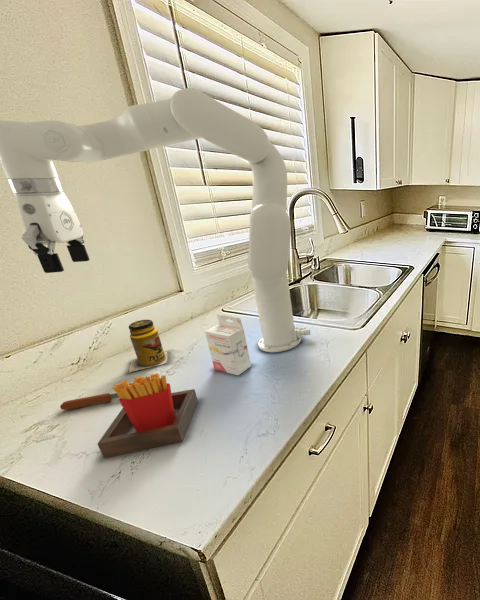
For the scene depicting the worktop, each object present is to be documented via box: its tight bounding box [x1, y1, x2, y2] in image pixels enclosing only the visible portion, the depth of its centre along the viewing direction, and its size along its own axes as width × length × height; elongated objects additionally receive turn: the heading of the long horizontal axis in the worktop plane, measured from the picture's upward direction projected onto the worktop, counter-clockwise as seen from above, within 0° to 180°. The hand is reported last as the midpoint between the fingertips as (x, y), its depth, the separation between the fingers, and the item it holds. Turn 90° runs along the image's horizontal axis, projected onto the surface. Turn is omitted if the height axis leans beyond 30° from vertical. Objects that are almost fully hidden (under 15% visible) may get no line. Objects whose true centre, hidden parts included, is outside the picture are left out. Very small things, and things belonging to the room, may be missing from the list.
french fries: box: [112, 373, 177, 432], centre depth 66 cm, size 8×4×12 cm, turn 115°
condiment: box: [128, 319, 168, 373], centre depth 89 cm, size 7×8×12 cm
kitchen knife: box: [59, 392, 120, 411], centre depth 75 cm, size 16×1×2 cm, turn 110°
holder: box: [97, 388, 199, 459], centre depth 67 cm, size 13×13×4 cm
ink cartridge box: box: [204, 313, 252, 376], centre depth 85 cm, size 9×5×15 cm, turn 71°
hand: (68, 266), depth 75 cm, fingers open, 9 cm apart
